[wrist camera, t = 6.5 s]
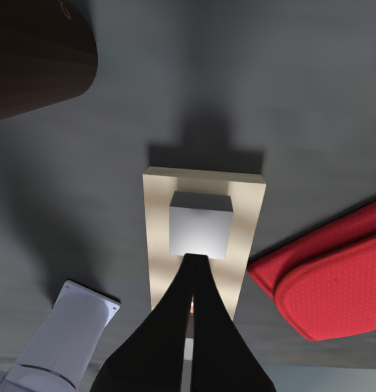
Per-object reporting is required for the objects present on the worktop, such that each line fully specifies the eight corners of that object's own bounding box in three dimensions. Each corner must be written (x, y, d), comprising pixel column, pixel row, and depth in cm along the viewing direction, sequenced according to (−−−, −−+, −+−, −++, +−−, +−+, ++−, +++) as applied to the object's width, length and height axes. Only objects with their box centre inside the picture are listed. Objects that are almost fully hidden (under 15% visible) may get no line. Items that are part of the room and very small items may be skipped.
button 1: (207, 339, 25) (207, 362, 23) (172, 334, 26) (169, 356, 24) (210, 318, 23) (210, 341, 21) (172, 313, 24) (169, 335, 22)
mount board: (227, 322, 28) (228, 342, 26) (156, 313, 29) (151, 332, 27) (261, 174, 18) (268, 187, 16) (149, 166, 19) (140, 177, 16)
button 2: (223, 239, 18) (225, 259, 16) (174, 235, 18) (169, 254, 16) (230, 195, 16) (233, 212, 14) (174, 191, 16) (169, 206, 14)
